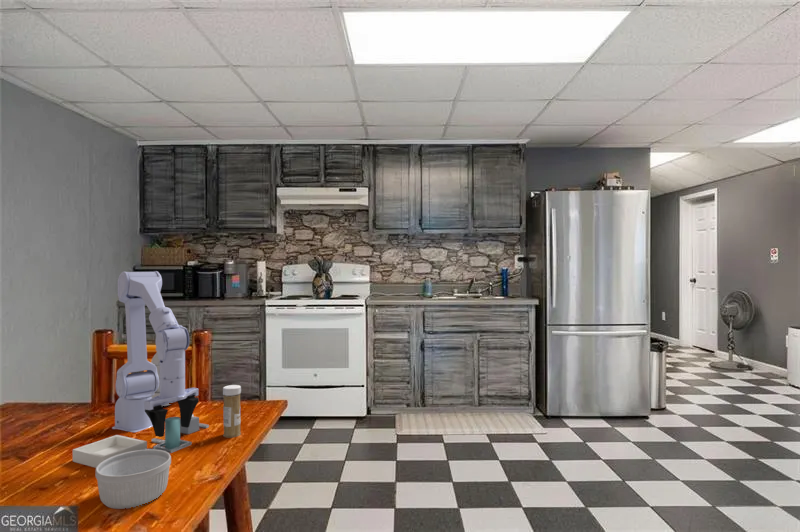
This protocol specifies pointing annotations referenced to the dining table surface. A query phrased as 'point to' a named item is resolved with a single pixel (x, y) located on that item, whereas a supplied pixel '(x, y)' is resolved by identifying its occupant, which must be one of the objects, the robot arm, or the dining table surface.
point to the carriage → (191, 426)
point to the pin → (172, 432)
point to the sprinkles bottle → (231, 411)
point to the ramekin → (133, 478)
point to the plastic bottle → (157, 364)
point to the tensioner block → (169, 450)
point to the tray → (106, 449)
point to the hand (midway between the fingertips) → (172, 431)
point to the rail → (154, 440)
